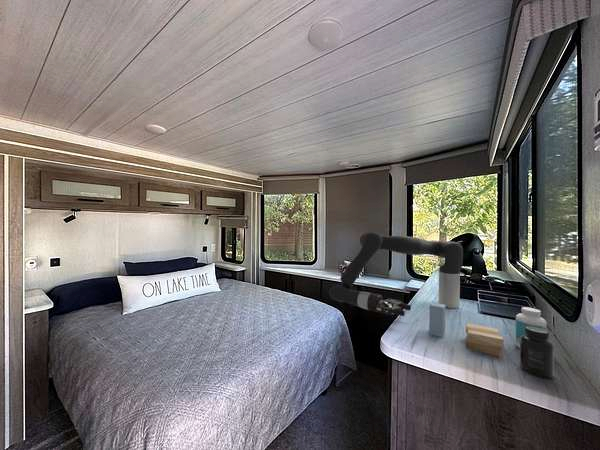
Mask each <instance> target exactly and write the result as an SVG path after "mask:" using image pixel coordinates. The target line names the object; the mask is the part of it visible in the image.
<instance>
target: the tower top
mask: <svg viewBox="0 0 600 450" xmlns="http://www.w3.org/2000/svg"><path fill="white" fill-rule="evenodd" d="M465 333H466V337H468V341H469V342H473V343H478V344H482V345H487V346H491V347H496V348H500V350H501V349H502V350H504V345H505V344H504V342H505V341H504V340H505V339H504V338H503V336H502V335H501V333H500V331H499V329H498V328H494V327H489V326H484V325H479V324H478V325H477V324H473V323H467V322H466V323H465Z"/></svg>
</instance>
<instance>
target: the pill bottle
mask: <svg viewBox="0 0 600 450" xmlns="http://www.w3.org/2000/svg"><path fill="white" fill-rule="evenodd" d="M541 315H542V311H541V310H540V309H537V308H533V307H528V306H527V307H525V306H524V307H523V306H522V307H521V313H518V314H516V315H515V334H514V335H515V337H514V338H515V341H514V342H515V346H516V347H518V348H519V349H520V337H521V336H523V335H526V334H525V326H533V327H538V328H541V329H544V330H546V331H548V330H547V325H548V323H547V321H546V319H545V318H543V317H541Z"/></svg>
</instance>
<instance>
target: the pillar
mask: <svg viewBox="0 0 600 450" xmlns="http://www.w3.org/2000/svg"><path fill="white" fill-rule="evenodd" d="M446 308H447V307H446V305H444V304H439V303H438V302H435V301H434V302H433V301H432V302H430V304H429V322H428V323H429V326H428V330H429V331H428V333H429V335H432V336H435V337H439V338H443V339H444V337H445V335H446V310H447V309H446Z"/></svg>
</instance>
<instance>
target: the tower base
mask: <svg viewBox="0 0 600 450" xmlns="http://www.w3.org/2000/svg"><path fill="white" fill-rule="evenodd" d="M465 348H468V349H471V350H475V351H478V352H481V353H485V354H489V355H491V356H495V357H499V358H501V348H496V347H491V346H487V345H482V344H478V343H473V342H469V341H468V337H467V336H466V338H465Z"/></svg>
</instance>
